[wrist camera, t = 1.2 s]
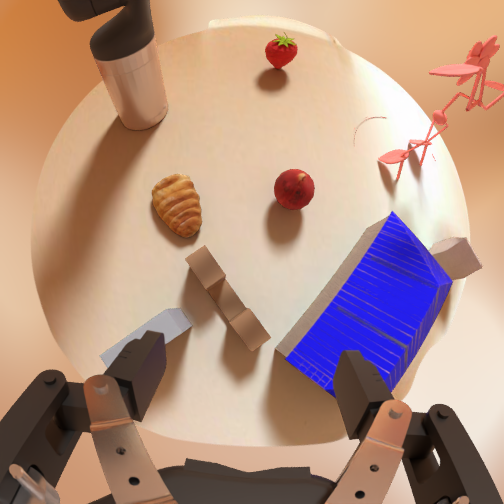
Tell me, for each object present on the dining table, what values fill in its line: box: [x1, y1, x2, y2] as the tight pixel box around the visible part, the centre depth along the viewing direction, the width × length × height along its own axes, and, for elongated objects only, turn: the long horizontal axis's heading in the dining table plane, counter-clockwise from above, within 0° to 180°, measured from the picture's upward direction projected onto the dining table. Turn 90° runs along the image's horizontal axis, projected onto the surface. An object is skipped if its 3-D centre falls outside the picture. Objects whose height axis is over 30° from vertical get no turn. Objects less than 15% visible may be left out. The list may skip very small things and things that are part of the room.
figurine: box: [354, 35, 504, 179], centre depth 30 cm, size 15×26×35 cm, turn 121°
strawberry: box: [265, 34, 297, 69], centre depth 43 cm, size 6×8×10 cm
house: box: [275, 211, 453, 398], centre depth 32 cm, size 25×16×16 cm, turn 139°
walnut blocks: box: [185, 245, 271, 352], centre depth 35 cm, size 14×3×6 cm, turn 36°
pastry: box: [152, 174, 202, 238], centre depth 38 cm, size 9×7×4 cm
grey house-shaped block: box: [429, 237, 482, 280], centre depth 38 cm, size 4×7×10 cm, turn 43°
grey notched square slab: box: [100, 308, 192, 368], centre depth 31 cm, size 10×3×10 cm, turn 126°
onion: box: [274, 169, 315, 210], centre depth 38 cm, size 6×6×8 cm
